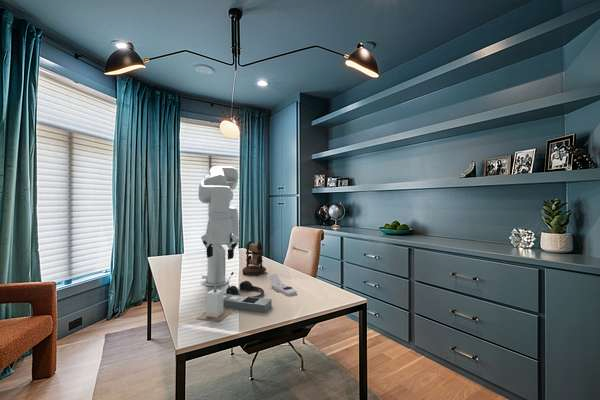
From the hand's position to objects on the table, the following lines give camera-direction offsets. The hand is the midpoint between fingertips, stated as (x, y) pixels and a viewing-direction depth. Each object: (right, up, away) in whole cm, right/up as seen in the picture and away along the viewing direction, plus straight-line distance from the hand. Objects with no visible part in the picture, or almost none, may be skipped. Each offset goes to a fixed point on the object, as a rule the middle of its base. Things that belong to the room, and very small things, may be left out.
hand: (220, 257), depth 110 cm
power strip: (+7, -23, +5) cm, 24 cm away
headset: (+6, -23, +19) cm, 31 cm away
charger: (-1, -21, -4) cm, 22 cm away
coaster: (-1, -23, -4) cm, 23 cm away
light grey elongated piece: (+24, -23, +27) cm, 42 cm away
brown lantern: (+4, -23, +60) cm, 64 cm away
